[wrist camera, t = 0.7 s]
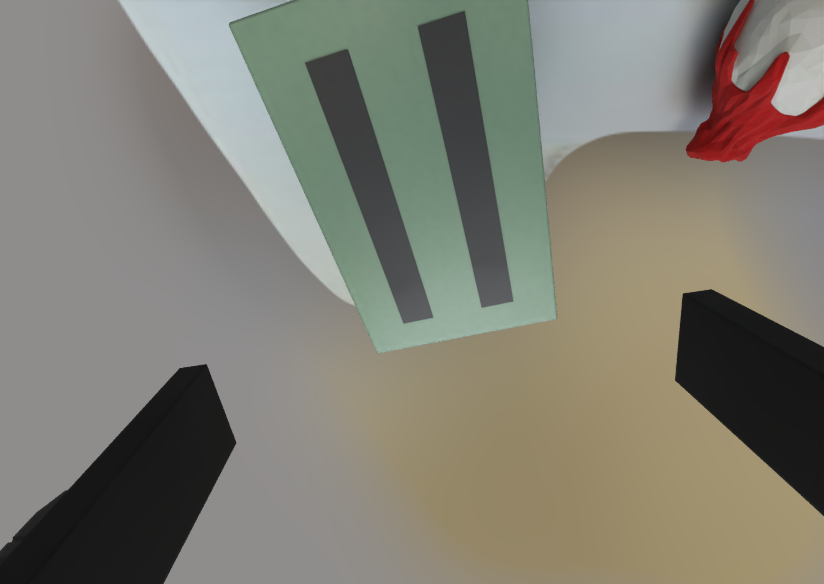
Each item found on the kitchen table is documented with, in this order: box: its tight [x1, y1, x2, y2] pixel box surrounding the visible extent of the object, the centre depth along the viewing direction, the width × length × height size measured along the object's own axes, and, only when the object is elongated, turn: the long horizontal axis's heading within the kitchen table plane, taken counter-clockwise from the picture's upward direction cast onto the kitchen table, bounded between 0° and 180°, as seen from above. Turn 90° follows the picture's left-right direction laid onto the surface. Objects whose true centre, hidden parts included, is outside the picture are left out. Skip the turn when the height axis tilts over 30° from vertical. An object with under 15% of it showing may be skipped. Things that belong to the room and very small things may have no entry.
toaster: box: [229, 0, 557, 353], centre depth 27 cm, size 20×12×16 cm, turn 15°
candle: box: [686, 0, 824, 162], centre depth 27 cm, size 9×11×15 cm
